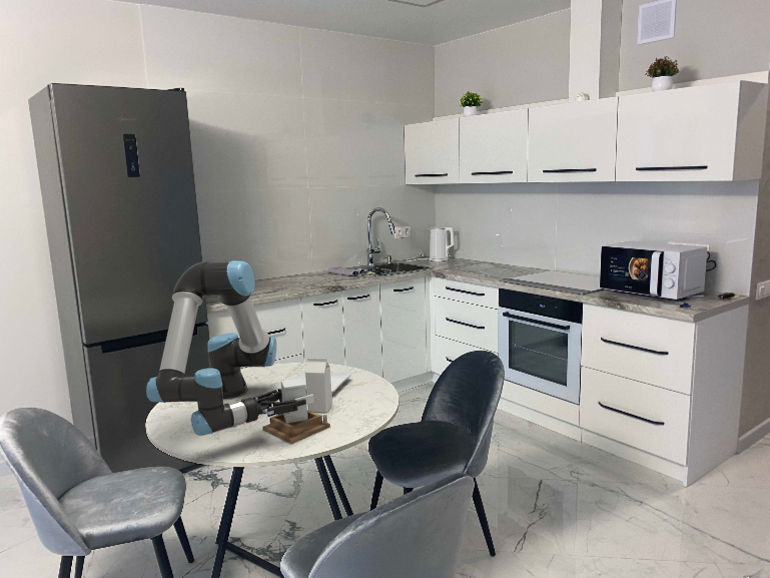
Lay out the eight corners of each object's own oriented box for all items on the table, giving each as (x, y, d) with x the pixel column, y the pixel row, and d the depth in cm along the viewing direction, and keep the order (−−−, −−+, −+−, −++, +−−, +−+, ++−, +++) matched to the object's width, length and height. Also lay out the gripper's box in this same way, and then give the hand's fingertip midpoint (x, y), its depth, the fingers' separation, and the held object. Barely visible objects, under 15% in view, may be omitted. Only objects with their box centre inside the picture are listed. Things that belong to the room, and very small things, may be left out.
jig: (262, 429, 195) (261, 418, 195) (301, 414, 207) (300, 403, 206) (291, 443, 184) (290, 431, 184) (330, 427, 195) (329, 415, 195)
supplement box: (285, 424, 190) (283, 387, 188) (283, 415, 197) (280, 380, 195) (308, 420, 192) (305, 384, 190) (304, 412, 199) (302, 377, 197)
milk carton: (326, 413, 207) (323, 362, 204) (307, 412, 209) (304, 361, 205) (332, 405, 214) (329, 355, 210) (314, 404, 216) (310, 355, 212)
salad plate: (333, 399, 221) (332, 390, 220) (282, 395, 227) (282, 386, 226) (353, 380, 240) (352, 372, 240) (306, 376, 247) (305, 369, 246)
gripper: (231, 412, 192) (292, 395, 205) (257, 434, 175) (323, 414, 188) (229, 391, 191) (291, 375, 204) (255, 410, 174) (321, 392, 186)
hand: (306, 394), depth 196 cm, fingers closed on supplement box, 9 cm apart
